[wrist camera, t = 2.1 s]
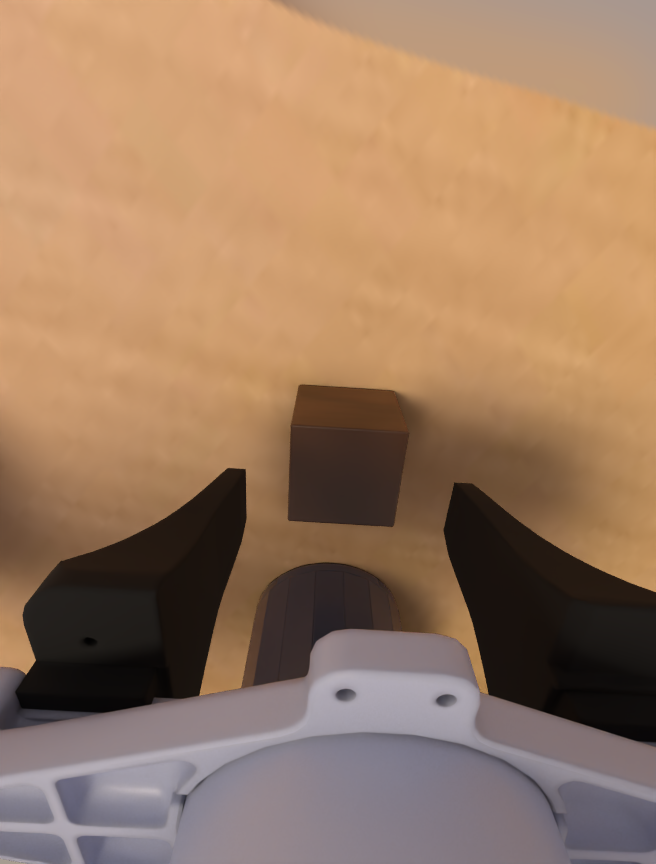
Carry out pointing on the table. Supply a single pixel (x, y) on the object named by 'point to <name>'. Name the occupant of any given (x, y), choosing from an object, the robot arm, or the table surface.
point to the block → (346, 456)
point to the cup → (312, 617)
